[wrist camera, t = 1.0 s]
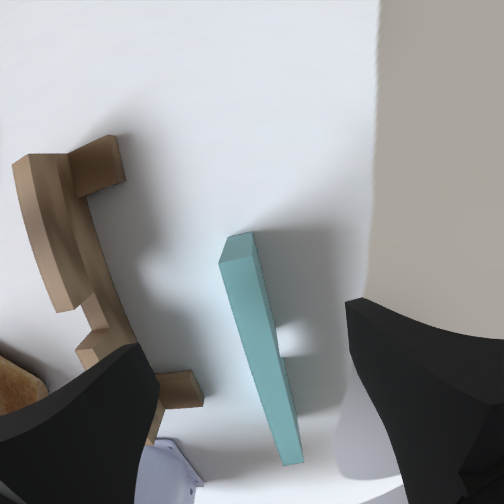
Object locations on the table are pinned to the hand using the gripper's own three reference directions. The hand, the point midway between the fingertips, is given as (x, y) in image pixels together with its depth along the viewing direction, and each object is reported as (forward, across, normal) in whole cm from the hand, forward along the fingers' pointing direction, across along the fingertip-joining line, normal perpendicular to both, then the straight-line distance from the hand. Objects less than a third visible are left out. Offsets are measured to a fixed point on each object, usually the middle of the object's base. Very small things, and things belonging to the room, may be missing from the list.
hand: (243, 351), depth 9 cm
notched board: (+9, +10, 0) cm, 13 cm away
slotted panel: (+9, 0, +6) cm, 11 cm away
